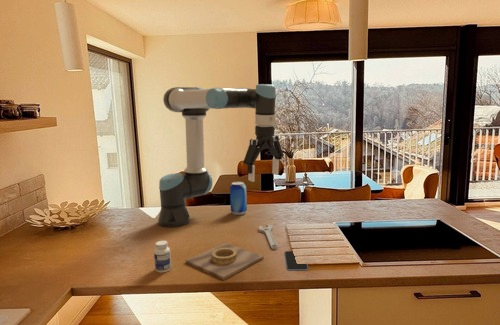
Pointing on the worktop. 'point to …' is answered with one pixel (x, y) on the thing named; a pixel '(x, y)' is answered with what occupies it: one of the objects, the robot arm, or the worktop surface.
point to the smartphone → (293, 262)
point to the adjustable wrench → (269, 235)
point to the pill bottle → (162, 257)
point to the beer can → (238, 198)
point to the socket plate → (224, 268)
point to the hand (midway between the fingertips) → (263, 177)
